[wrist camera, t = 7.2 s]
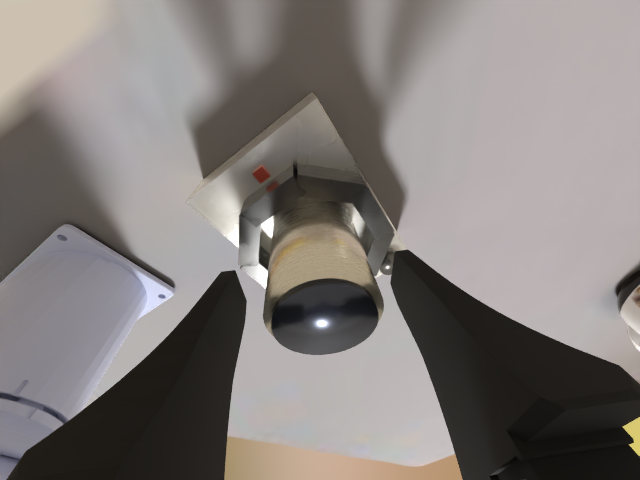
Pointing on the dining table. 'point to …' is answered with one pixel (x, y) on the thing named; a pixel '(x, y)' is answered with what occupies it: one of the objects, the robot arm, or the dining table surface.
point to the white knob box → (292, 189)
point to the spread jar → (631, 307)
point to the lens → (319, 280)
